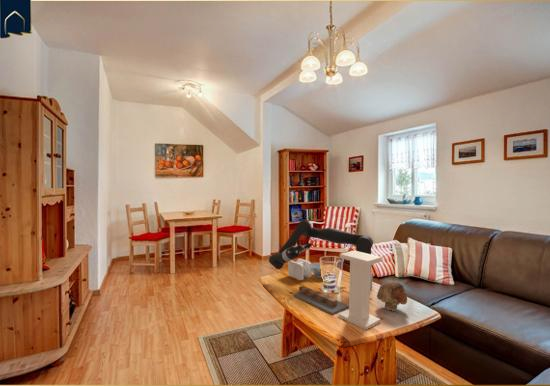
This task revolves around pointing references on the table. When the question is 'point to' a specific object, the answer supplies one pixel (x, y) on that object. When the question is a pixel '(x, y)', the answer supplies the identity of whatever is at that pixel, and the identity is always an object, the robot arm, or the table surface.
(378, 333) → the table surface
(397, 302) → the sculpture
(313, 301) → the rubber mat
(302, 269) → the cable organizer
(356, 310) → the stand
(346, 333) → the table surface
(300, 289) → the walnut bar
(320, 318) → the table surface
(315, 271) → the chinaware
